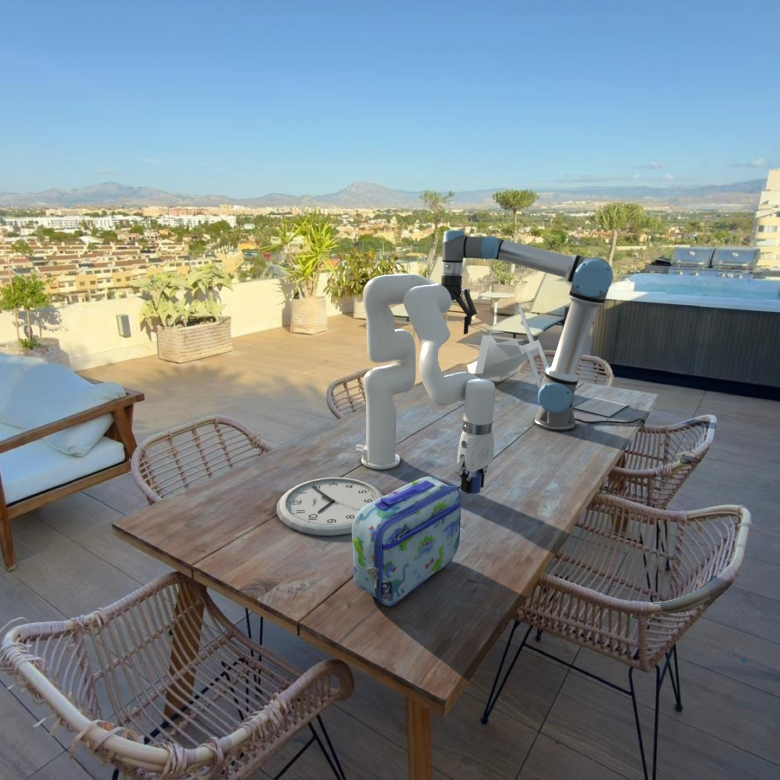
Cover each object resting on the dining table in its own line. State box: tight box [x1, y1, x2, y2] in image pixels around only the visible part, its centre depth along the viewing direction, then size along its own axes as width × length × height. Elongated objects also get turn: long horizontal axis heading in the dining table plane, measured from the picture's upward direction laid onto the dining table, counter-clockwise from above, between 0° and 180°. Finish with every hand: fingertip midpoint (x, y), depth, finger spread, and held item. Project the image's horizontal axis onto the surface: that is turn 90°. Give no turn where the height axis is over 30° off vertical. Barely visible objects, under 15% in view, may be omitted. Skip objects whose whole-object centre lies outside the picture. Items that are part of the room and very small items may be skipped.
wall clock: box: [276, 476, 385, 537], centre depth 142 cm, size 30×2×30 cm
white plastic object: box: [466, 308, 549, 390], centre depth 255 cm, size 37×45×31 cm
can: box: [465, 471, 482, 495], centre depth 141 cm, size 4×4×5 cm
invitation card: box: [573, 396, 629, 418], centre depth 226 cm, size 21×1×15 cm
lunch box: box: [351, 476, 462, 607], centre depth 111 cm, size 26×11×21 cm, turn 135°
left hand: (472, 488), depth 142 cm, fingers closed on can, 4 cm apart
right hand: (448, 331), depth 197 cm, fingers open, 13 cm apart
